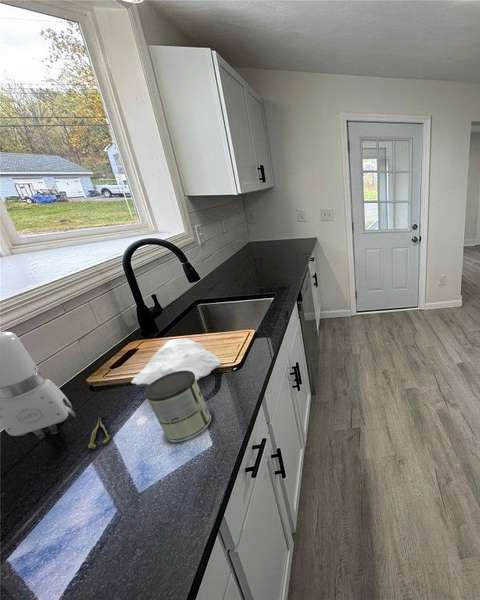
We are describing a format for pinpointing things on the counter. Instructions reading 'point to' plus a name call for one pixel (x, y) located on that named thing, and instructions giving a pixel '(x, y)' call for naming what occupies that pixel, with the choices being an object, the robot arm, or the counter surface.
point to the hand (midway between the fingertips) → (59, 443)
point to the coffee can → (178, 405)
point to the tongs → (95, 434)
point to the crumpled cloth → (178, 361)
